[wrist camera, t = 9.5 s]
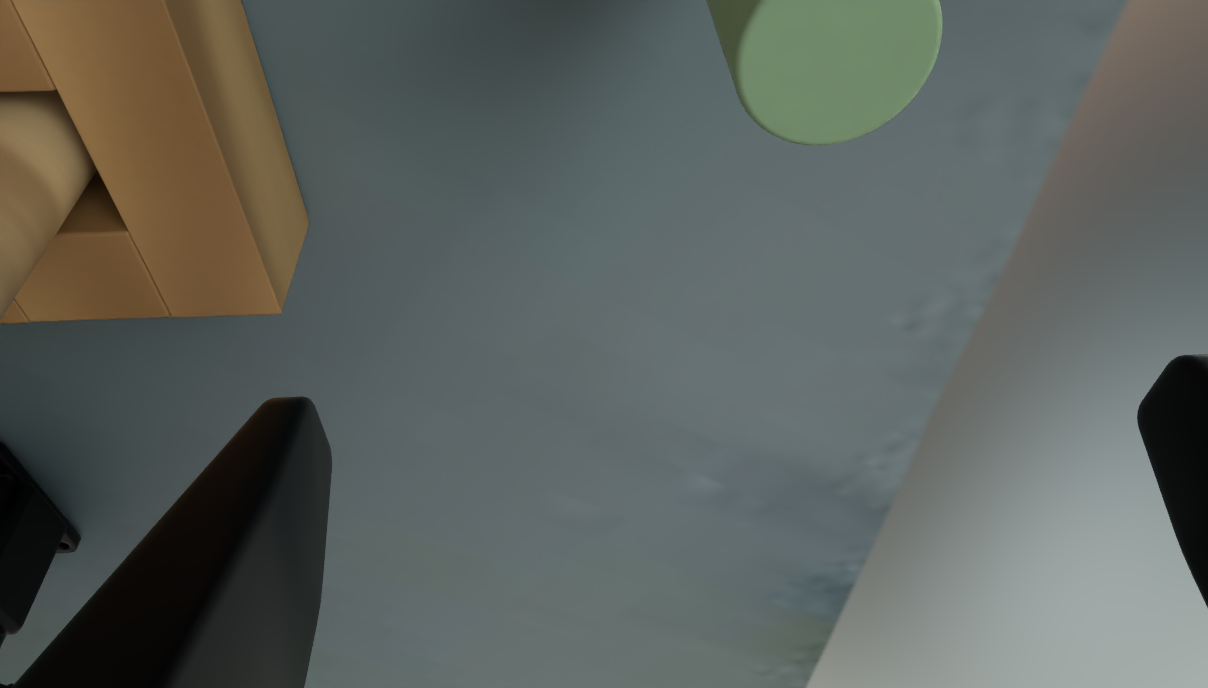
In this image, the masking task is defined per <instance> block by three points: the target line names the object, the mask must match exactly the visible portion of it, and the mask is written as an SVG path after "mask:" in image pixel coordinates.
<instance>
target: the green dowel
mask: <svg viewBox="0 0 1208 688" xmlns="http://www.w3.org/2000/svg"><path fill="white" fill-rule="evenodd" d="M706 1H707V4H708V7H709V10H710V13H711V16H712V19H713V22H714V25H715V28H716V31H717V34H718V37H719V40H720V43H721V46H722V49H723V52H724V55H725V58H726V61H727V64H728V67H729V70H730V73H731V76H732V79H733V82H734V85H735V88H736V91H737V94H738V96H739V99H740V101H741V104H742V105H743V107H744V109H745V110H746V112H747V113H748V114H749V116H750V117H751V118H752V119H753V120H754V121H755V122H756V123H757V124H758V125H759V126H760V127H761V128H763V129H764V130H766V131H767V132H769V133H771V134H772V135H774V136H777V137H779V138H781V139H783V140H786V141H789V142H793V143H797V144H804V145H829V144H836V143H841V142H845V141H848V140H851V139H855V138H857V137H860V136H862V135H865V134H867V133H869V132H871V131H873V130H875V129H876V128H878V127H880V126H881V125H883V124H884V123H886V122H887V121H889V120H890V119H892V118H893V117H894V116H895V115H897V114H898V113H899V112H900V111H901V110H902V109H903V108H904V107H905V106H906V105H907V104H908V103H909V102H910V101H911V100H912V99H913V98H914V97H915V95H916V94H917V93H918V92H919V90H920V89H921V87H922V86H923V84H924V83H925V81H926V80H927V78H928V76H929V74H930V72H931V70H932V68H933V66H934V63H935V61H936V58H937V55H938V51H939V47H940V43H941V35H942V11H941V6H940V1H939V0H706Z"/></svg>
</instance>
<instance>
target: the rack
mask: <svg viewBox="0 0 1208 688" xmlns="http://www.w3.org/2000/svg"><path fill="white" fill-rule="evenodd" d="M56 89H57V91H58V93H59V95H60V97H61V99H62V101H63V103H64V105H65V107H66V109H67V111H68V113H69V115H70V117H71V118H72V120H73V122H74V124H75V126H76V128H77V130H78V132H79V134H80V136H81V138H82V140H83V142H84V144H85V146H86V148H87V150H88V152H89V154H90V156H91V158H92V160H93V162H94V164H95V166H96V168H97V171H96V173H95V174H94V176H93V178H92V179H91V181H90V182H89V184H88V185H87V187H86V188H85V190H84V191H83V193H82V195H81V196H80V198H79V199H78V201H77V202H76V204H75V205H74V207H73V208H72V210H71V211H70V213H69V215H68V216H67V218H66V219H65V221H64V222H63V224H62V225H61V227H60V228H59V230H58V232H57V233H56V235H55V236H54V238H53V239H52V241H51V242H50V244H49V245H48V247H47V249H46V250H45V252H44V253H43V255H42V256H41V258H40V259H39V261H38V262H37V264H36V265H35V267H34V269H33V270H32V272H31V273H30V275H29V276H28V278H27V279H26V281H25V282H24V284H23V286H22V287H21V289H20V290H19V292H18V293H17V295H16V296H15V298H14V299H13V301H12V303H11V304H10V306H9V307H8V309H7V310H6V312H5V313H4V315H3V316H2V318H1V319H0V324H5V323H28V322H29V321H32V322H42V321H71V320H100V319H129V318H159V317H170V316H172V317H173V318H180V317H210V316H239V315H268V314H281V313H282V309H283V306H284V303H285V300H286V296H287V293H288V290H289V287H290V284H291V280H292V277H293V274H294V271H295V268H296V264H297V261H298V258H299V255H300V252H301V248H302V245H303V242H304V239H305V235H306V232H307V229H308V226H309V219H308V216H307V212H306V209H305V206H304V203H303V199H302V196H301V193H300V190H299V186H298V183H297V180H296V177H295V173H294V170H293V167H292V164H291V160H290V157H289V154H288V151H287V147H286V144H285V141H284V138H283V134H282V131H281V128H280V125H279V121H278V118H277V115H276V112H275V108H274V105H273V102H272V99H271V96H270V92H269V89H268V86H267V83H266V79H265V76H264V73H263V70H262V66H261V63H260V60H259V57H258V53H257V50H256V47H255V44H254V40H253V37H252V34H251V31H250V27H249V24H248V21H247V18H246V14H245V11H244V8H243V5H242V1H241V0H0V92H25V91H54V90H56Z"/></svg>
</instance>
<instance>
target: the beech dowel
mask: <svg viewBox="0 0 1208 688" xmlns="http://www.w3.org/2000/svg"><path fill="white" fill-rule="evenodd" d="M96 171H97V168H96V166H95V164H94V162H93V160H92V158H91V156H90V154H89V152H88V150H87V148H86V146H85V144H84V142H83V140H82V138H81V136H80V134H79V132H78V130H77V128H76V126H75V124H74V122H73V120H72V118H71V117H70V115H69V113H68V111H67V109H66V107H65V105H64V103H63V101H62V99H61V97H60V95H59V93H58V91H57V89H56V90H54V91H25V92H0V319H1V318H2V316H3V315H4V313H5V312H6V310H7V309H8V307H9V306H10V304H11V303H12V301H13V299H14V298H15V296H16V295H17V293H18V292H19V290H20V289H21V287H22V286H23V284H24V282H25V281H26V279H27V278H28V276H29V275H30V273H31V272H32V270H33V269H34V267H35V265H36V264H37V262H38V261H39V259H40V258H41V256H42V255H43V253H44V252H45V250H46V249H47V247H48V245H49V244H50V242H51V241H52V239H53V238H54V236H55V235H56V233H57V232H58V230H59V228H60V227H61V225H62V224H63V222H64V221H65V219H66V218H67V216H68V215H69V213H70V211H71V210H72V208H73V207H74V205H75V204H76V202H77V201H78V199H79V198H80V196H81V195H82V193H83V191H84V190H85V188H86V187H87V185H88V184H89V182H90V181H91V179H92V178H93V176H94V174H95V173H96Z"/></svg>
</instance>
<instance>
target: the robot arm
mask: <svg viewBox="0 0 1208 688" xmlns="http://www.w3.org/2000/svg"><path fill="white" fill-rule="evenodd" d="M1137 419H1138V426H1139V430H1140V433H1141V436H1142V439H1143V442H1144V445H1145V447H1146V450H1147V453H1148V456H1149V459H1150V462H1151V465H1152V468H1153V471H1154V474H1155V476H1156V479H1157V482H1158V485H1159V488H1160V491H1161V494H1162V497H1163V500H1164V503H1165V506H1166V508H1167V511H1168V514H1169V517H1170V520H1171V523H1172V526H1173V529H1174V531H1175V534H1176V537H1177V539H1178V542H1179V545H1180V548H1181V550H1182V553H1183V555H1184V557H1185V560H1186V562H1187V564H1188V566H1189V569H1190V571H1191V573H1192V576H1193V578H1194V580H1195V582H1196V584H1197V586H1198V588H1199V590H1200V592H1201V595H1202V597H1203V599H1204V601H1205V603H1206V605H1207V607H1208V354H1200V355H1183V356H1178V357H1176V358H1175V359H1173V360H1172V361H1171V362H1170V363H1169V364H1168V365H1167V366H1166V368H1165V369H1164V371H1163V372H1162V374H1161V375H1160V376H1159V378H1158V379H1157V380H1156V382H1155V383H1154V385H1153V386H1152V388H1151V389H1150V391H1149V392H1148V393H1147V395H1146V396H1145V398H1144V399H1143V400H1142V402H1141V404H1140V406H1139V409H1138V415H1137ZM331 472H332V456H331V449H330V445H329V442H328V440H327V437H326V434H325V432H324V429H323V426H322V424H321V421H320V418H319V416H318V413H317V410H316V408H315V405H314V404H313V402H312V401H311V400H310V399H309V398H307V397H283V398H272V399H269V400H267V401H266V402H264V403H263V404H262V405H261V406H260V407H259V408H258V409H257V411H256V412H255V413H254V414H253V415H252V416H251V417H250V418H249V420H248V421H247V422H246V423H245V424H244V425H243V426H242V428H241V429H240V430H239V431H238V432H237V433H236V434H235V435H234V437H233V438H232V439H231V440H230V441H229V442H228V443H227V444H226V446H225V447H224V448H223V449H222V450H221V451H220V452H219V454H218V455H217V456H216V457H215V458H214V459H213V460H212V461H211V463H210V464H209V465H208V466H207V467H206V468H205V469H204V470H203V472H202V473H201V474H200V475H199V476H198V477H197V478H196V480H195V481H194V482H193V483H192V484H191V485H190V486H189V487H188V489H187V490H186V491H185V492H184V493H183V494H182V495H181V496H180V498H179V499H178V500H177V501H176V502H175V503H174V504H173V505H172V507H171V508H170V509H169V510H168V511H167V512H166V513H165V515H164V516H163V517H162V518H161V519H160V520H159V521H158V522H157V524H156V525H155V526H154V527H153V528H152V529H151V530H150V531H149V533H148V534H147V535H146V536H145V537H144V538H143V539H142V541H141V542H140V543H139V544H138V545H137V546H136V547H135V548H134V550H133V551H132V552H131V553H130V554H129V555H128V556H127V557H126V559H125V560H124V561H123V562H122V563H121V564H120V565H119V567H118V568H117V569H116V570H115V571H114V572H113V573H112V574H111V576H110V577H109V578H108V579H107V580H106V581H105V582H104V583H103V585H102V586H101V587H100V588H99V589H98V590H97V591H96V593H95V594H94V595H93V596H92V597H91V598H90V599H89V600H88V602H87V603H86V604H85V605H84V606H83V607H82V608H81V609H80V611H79V612H78V613H77V614H76V615H75V616H74V617H73V619H72V620H71V621H70V622H69V623H68V624H67V625H66V626H65V628H64V629H63V630H62V631H61V632H60V633H59V634H58V635H57V637H56V638H55V639H54V640H53V641H52V642H51V643H50V645H49V646H48V647H47V648H46V649H45V650H44V651H43V652H42V654H41V655H40V656H39V657H38V658H37V659H36V660H35V661H34V663H33V664H32V665H31V666H30V667H29V668H28V669H27V670H26V672H25V673H24V674H23V675H22V676H21V677H20V678H19V680H18V681H17V682H16V683H15V684H9V685H4V684H0V688H304V685H305V680H306V676H307V671H308V666H309V661H310V656H311V651H312V646H313V641H314V636H315V631H316V626H317V621H318V615H319V609H320V603H321V593H322V583H323V572H324V559H325V547H326V534H327V522H328V510H329V497H330V485H331ZM80 540H81V537H80V535H79V534H78V533H77V531H76V530H75V529H74V528H73V527H72V525H71V524H70V523H69V522H68V521H67V519H66V518H65V517H64V516H63V515H62V513H61V512H60V511H59V510H58V509H57V507H56V506H55V505H54V504H53V503H52V501H51V500H50V499H49V498H48V497H47V495H46V494H45V493H44V492H43V491H42V489H41V488H40V487H39V486H38V485H37V483H36V482H35V481H34V480H33V479H32V477H31V476H30V475H29V474H28V472H27V471H26V470H25V469H24V468H23V466H22V465H21V464H20V463H19V462H18V460H17V459H16V458H15V457H14V456H13V454H12V453H11V452H10V451H9V450H8V448H7V447H6V446H5V445H4V444H3V443H2V442H0V647H1V645H2V643H3V641H4V639H5V637H6V635H11V634H15V633H17V632H18V631H19V630H20V628H21V627H22V626H23V624H24V622H25V619H26V617H27V615H28V613H29V611H30V608H31V606H32V604H33V602H34V600H35V597H36V595H37V593H38V591H39V589H40V586H41V584H42V582H43V580H44V578H45V575H46V573H47V571H48V569H49V567H50V564H51V562H52V560H53V558H54V556H55V553H69V552H74V551H76V549H77V547H78V545H79V542H80Z"/></svg>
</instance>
